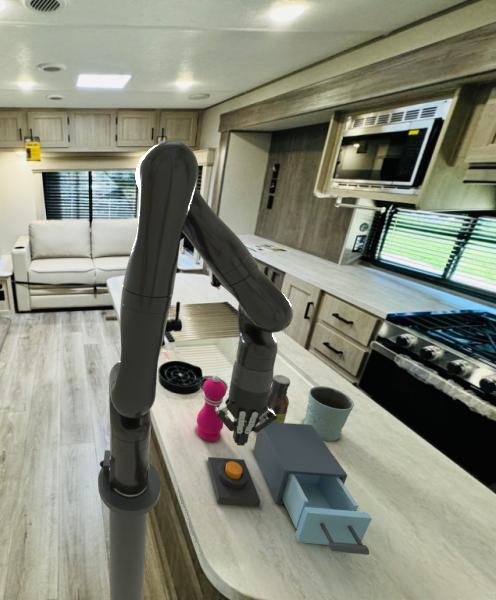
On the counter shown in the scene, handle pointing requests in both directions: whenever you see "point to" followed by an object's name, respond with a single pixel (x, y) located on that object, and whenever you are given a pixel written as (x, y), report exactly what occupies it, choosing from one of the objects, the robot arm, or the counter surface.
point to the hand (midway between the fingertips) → (239, 442)
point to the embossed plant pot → (328, 411)
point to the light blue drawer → (325, 513)
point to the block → (232, 484)
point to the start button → (233, 470)
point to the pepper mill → (211, 410)
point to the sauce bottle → (279, 397)
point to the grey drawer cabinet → (293, 455)
